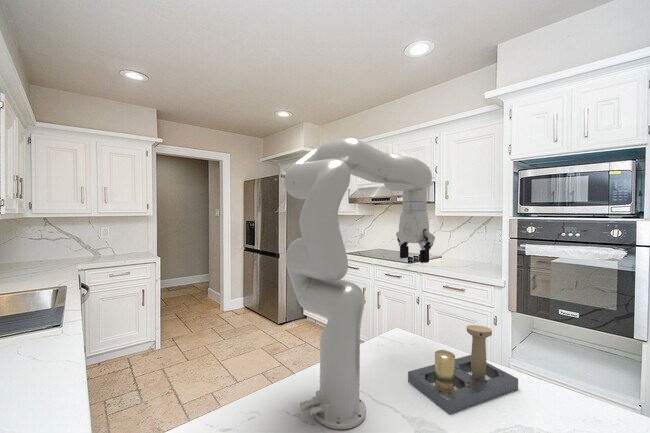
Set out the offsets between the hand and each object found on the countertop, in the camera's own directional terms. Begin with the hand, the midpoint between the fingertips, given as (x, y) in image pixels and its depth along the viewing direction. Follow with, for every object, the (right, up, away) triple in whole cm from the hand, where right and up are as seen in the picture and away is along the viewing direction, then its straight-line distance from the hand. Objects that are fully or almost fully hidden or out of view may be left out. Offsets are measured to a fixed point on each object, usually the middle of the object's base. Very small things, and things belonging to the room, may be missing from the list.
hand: (413, 260), depth 99 cm
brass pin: (+3, -33, -18) cm, 37 cm away
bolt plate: (+9, -33, -15) cm, 37 cm away
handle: (+15, -33, -12) cm, 38 cm away
